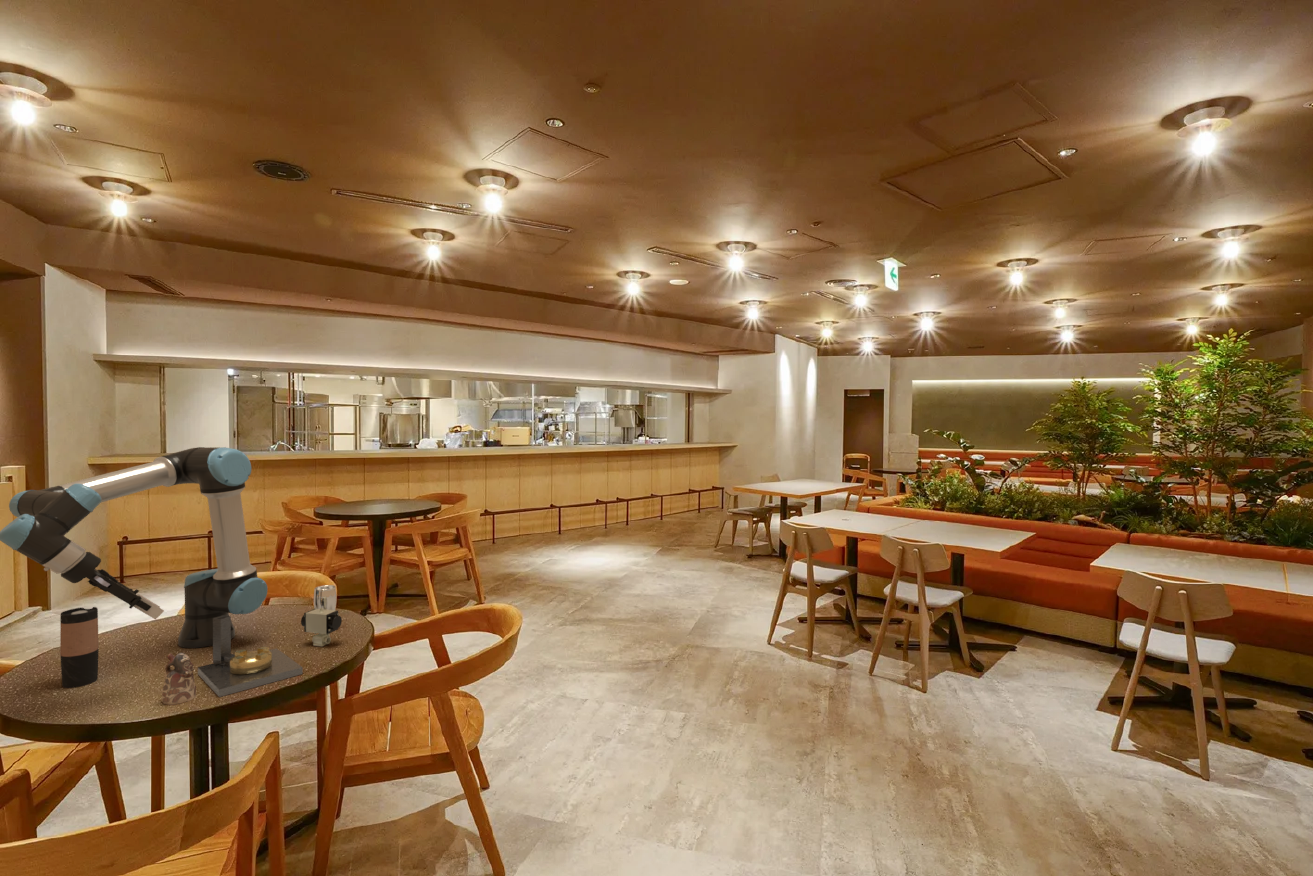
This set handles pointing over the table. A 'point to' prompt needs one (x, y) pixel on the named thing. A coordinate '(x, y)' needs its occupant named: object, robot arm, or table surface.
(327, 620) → the pneumatic valve
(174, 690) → the figurine
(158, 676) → the table surface
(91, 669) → the travel mug
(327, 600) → the beer glass
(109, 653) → the table surface
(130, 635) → the table surface
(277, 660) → the base plate
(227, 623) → the metal fixture
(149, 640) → the table surface
